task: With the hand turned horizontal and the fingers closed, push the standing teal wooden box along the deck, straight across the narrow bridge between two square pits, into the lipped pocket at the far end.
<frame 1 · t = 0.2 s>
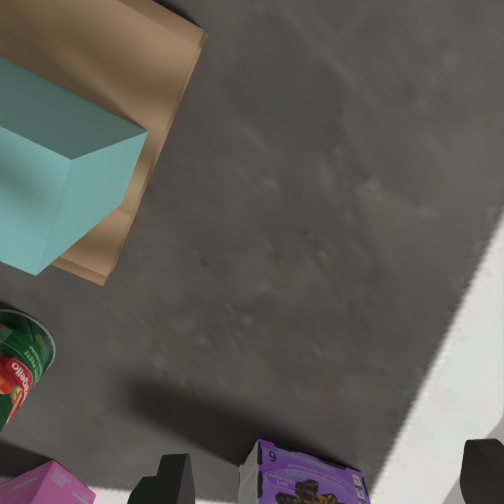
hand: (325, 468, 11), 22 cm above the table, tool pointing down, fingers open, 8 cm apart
canned tomato: (16, 341, 36), on the table
candy box: (300, 468, 43), on the table
teal box: (53, 130, 26), point 2 cm above the table, touching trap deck
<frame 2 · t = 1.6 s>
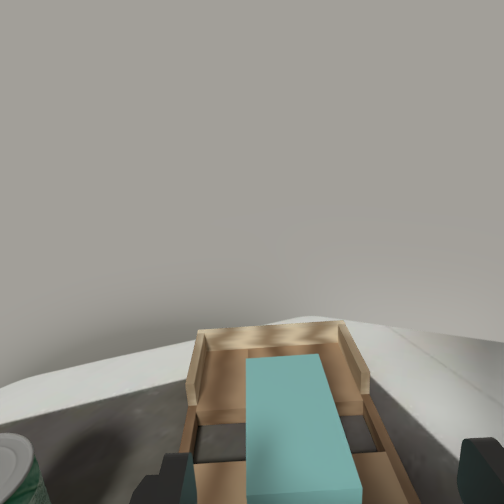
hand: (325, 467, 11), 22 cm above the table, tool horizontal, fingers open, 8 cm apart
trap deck: (283, 448, 38), on the table
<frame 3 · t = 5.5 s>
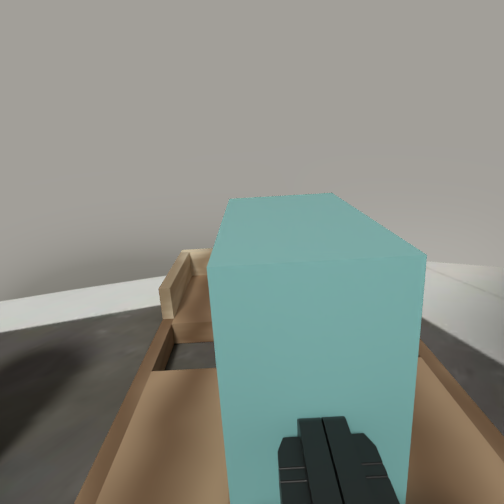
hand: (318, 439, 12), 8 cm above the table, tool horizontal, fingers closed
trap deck: (282, 363, 29), on the table
teal box: (297, 441, 19), point 2 cm above the table, touching gripper
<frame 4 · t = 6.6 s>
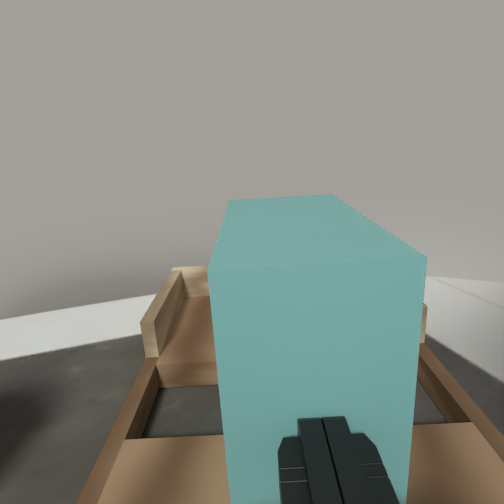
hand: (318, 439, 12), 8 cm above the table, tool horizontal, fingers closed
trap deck: (292, 420, 24), on the table
teal box: (298, 442, 19), point 2 cm above the table, touching gripper
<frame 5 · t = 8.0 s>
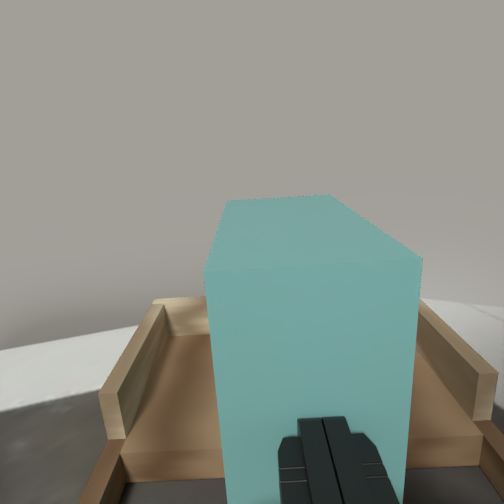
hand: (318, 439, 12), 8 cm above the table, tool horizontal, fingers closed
teal box: (295, 442, 19), point 2 cm above the table
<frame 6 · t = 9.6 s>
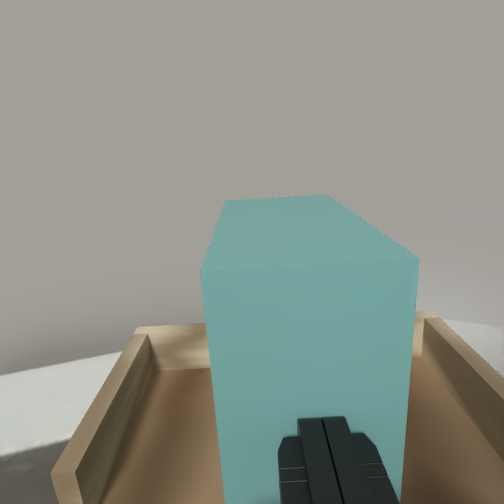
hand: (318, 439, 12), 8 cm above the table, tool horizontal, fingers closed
teal box: (293, 442, 19), point 2 cm above the table, touching gripper, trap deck
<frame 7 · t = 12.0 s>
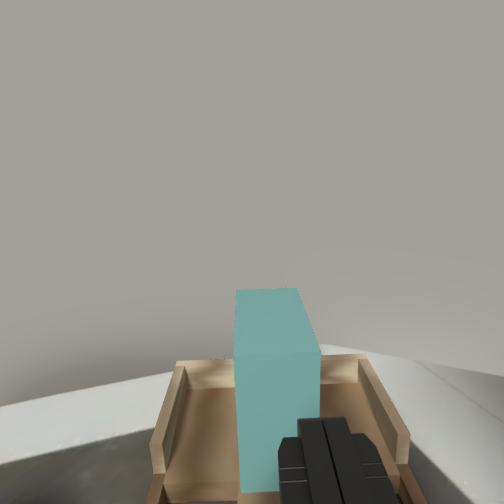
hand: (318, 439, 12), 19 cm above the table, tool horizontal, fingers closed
teal box: (273, 433, 34), point 2 cm above the table, touching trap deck
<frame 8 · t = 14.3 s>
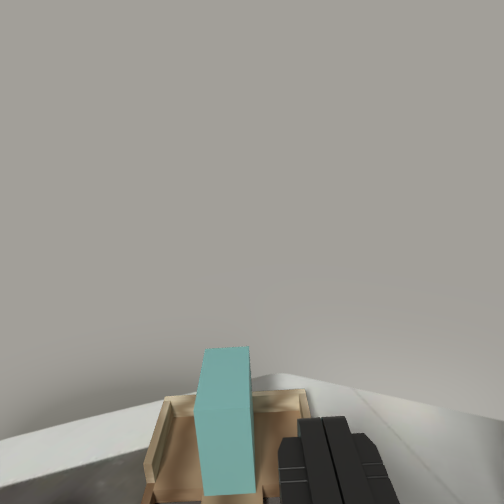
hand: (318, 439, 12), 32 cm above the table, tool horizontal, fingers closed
teal box: (231, 452, 48), point 2 cm above the table, touching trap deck
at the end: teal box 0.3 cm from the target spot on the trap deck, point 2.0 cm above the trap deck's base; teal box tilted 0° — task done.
